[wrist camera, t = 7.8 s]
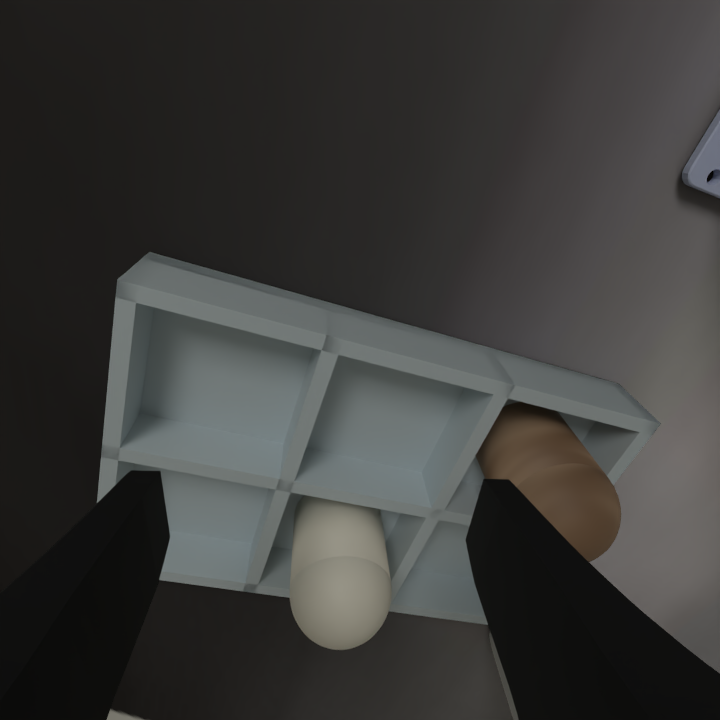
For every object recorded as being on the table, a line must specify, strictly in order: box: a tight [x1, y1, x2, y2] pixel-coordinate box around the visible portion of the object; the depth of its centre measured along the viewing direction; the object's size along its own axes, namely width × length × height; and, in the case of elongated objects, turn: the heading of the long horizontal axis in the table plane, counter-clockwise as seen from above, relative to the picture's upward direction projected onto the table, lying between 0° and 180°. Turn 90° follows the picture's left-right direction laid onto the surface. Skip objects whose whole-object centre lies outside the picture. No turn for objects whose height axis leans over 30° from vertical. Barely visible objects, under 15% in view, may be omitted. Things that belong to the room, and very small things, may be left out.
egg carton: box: [97, 252, 661, 625], centre depth 21 cm, size 20×14×3 cm
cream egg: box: [290, 495, 392, 650], centre depth 20 cm, size 4×4×6 cm
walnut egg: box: [475, 402, 621, 562], centre depth 18 cm, size 4×4×6 cm
